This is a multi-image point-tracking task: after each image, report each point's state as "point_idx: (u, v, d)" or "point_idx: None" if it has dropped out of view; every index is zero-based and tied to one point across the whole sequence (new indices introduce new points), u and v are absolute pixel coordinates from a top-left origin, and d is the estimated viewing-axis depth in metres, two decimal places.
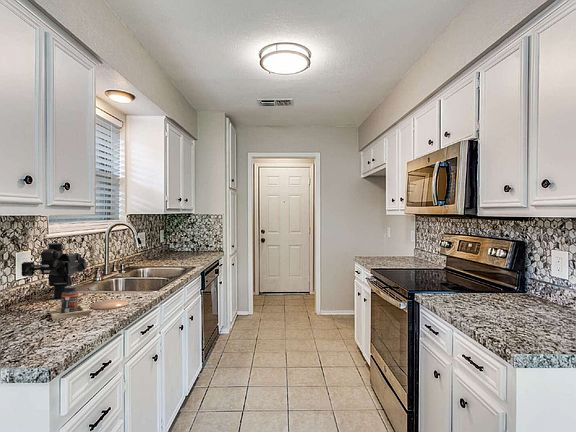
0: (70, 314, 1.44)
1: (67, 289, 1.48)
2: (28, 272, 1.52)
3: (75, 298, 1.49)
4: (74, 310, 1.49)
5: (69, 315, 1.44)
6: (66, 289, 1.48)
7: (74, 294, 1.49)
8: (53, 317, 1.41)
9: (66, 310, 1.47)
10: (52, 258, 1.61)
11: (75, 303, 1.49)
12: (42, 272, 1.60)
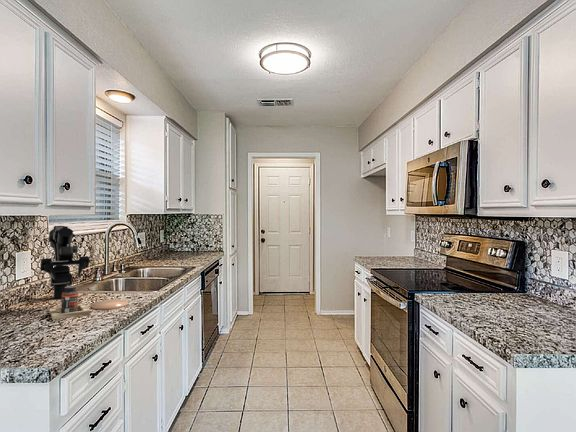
0: (70, 314, 1.44)
1: (67, 289, 1.48)
2: (54, 275, 1.54)
3: (75, 298, 1.49)
4: (74, 310, 1.49)
5: (69, 315, 1.44)
6: (66, 289, 1.48)
7: (74, 294, 1.49)
8: (53, 317, 1.41)
9: (66, 310, 1.47)
10: (71, 254, 1.60)
11: (75, 303, 1.49)
12: None
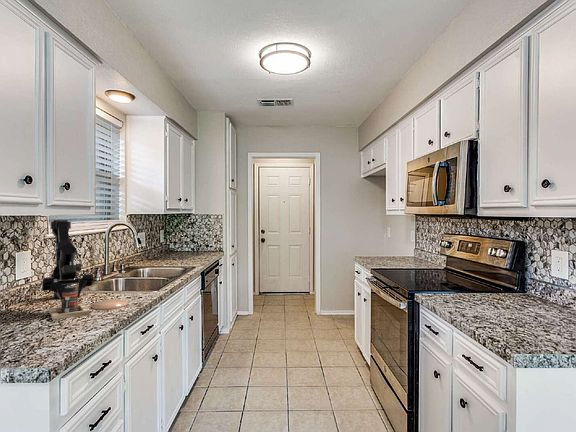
0: (70, 314, 1.44)
1: (67, 289, 1.48)
2: None
3: (75, 298, 1.49)
4: (74, 310, 1.49)
5: (69, 315, 1.44)
6: (66, 289, 1.48)
7: (74, 294, 1.49)
8: (53, 317, 1.41)
9: (66, 310, 1.47)
10: (74, 273, 1.53)
11: (75, 303, 1.49)
12: None
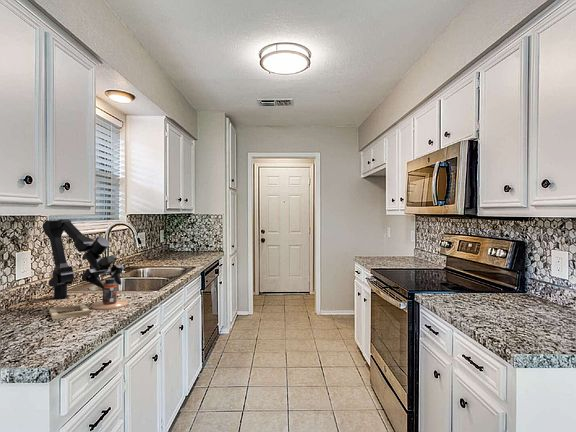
0: (70, 314, 1.44)
1: (110, 280, 1.62)
2: None
3: (116, 288, 1.64)
4: (116, 299, 1.64)
5: (69, 315, 1.44)
6: (109, 281, 1.62)
7: (116, 285, 1.64)
8: (53, 317, 1.41)
9: (111, 299, 1.61)
10: (110, 263, 1.66)
11: (116, 293, 1.64)
12: None
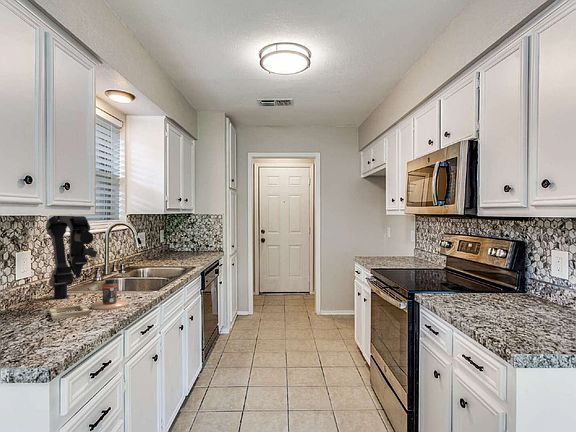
0: (70, 314, 1.44)
1: (110, 281, 1.62)
2: None
3: (116, 288, 1.64)
4: (116, 299, 1.64)
5: (69, 315, 1.44)
6: (109, 281, 1.61)
7: (116, 285, 1.63)
8: (53, 317, 1.41)
9: (110, 300, 1.61)
10: None
11: (116, 293, 1.64)
12: None
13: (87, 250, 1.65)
